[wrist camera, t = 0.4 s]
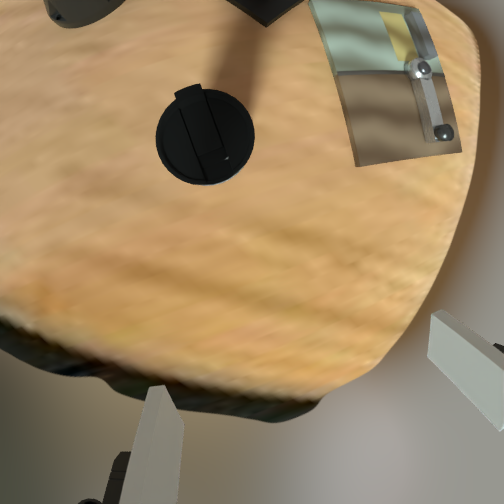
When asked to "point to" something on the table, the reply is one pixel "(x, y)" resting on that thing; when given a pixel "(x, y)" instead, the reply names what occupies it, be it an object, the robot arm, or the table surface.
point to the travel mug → (204, 136)
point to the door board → (382, 78)
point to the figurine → (265, 9)
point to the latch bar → (427, 101)
